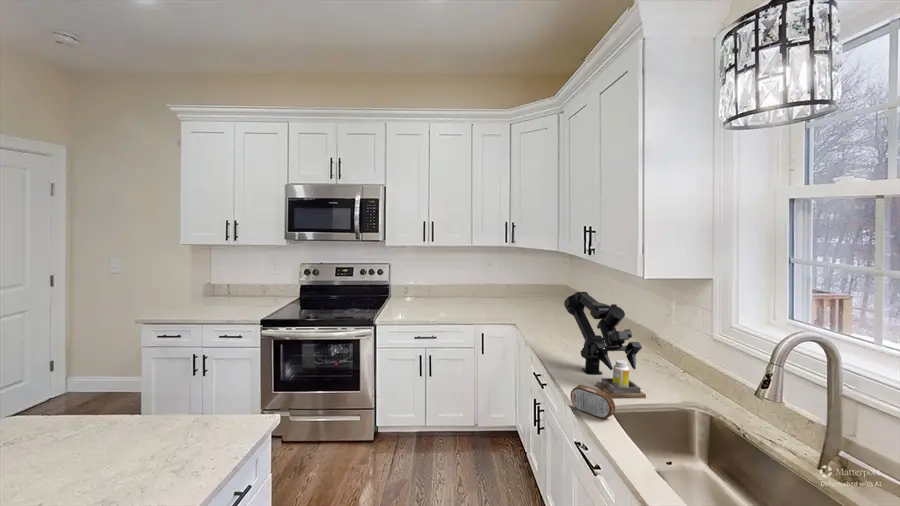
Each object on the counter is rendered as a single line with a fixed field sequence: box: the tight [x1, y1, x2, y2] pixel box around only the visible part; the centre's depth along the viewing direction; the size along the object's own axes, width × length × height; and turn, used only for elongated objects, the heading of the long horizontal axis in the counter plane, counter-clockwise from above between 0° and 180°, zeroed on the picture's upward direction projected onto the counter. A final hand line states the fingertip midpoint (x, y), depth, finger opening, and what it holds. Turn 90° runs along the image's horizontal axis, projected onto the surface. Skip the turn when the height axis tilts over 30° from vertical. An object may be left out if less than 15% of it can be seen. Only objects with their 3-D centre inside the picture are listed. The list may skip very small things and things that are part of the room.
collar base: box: [595, 377, 647, 399], centre depth 166 cm, size 13×13×3 cm
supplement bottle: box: [612, 359, 630, 387], centre depth 166 cm, size 6×6×10 cm
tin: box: [570, 384, 616, 420], centre depth 145 cm, size 15×3×8 cm, turn 42°
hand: (623, 369), depth 164 cm, fingers open, 9 cm apart
